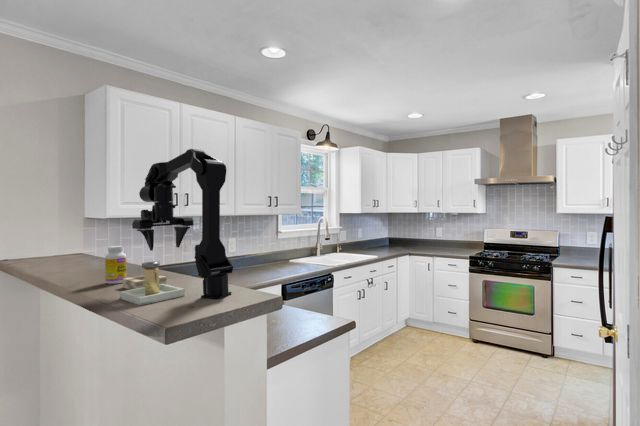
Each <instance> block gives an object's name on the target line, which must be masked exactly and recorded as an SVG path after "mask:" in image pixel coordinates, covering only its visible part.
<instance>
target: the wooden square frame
mask: <svg viewBox="0 0 640 426" xmlns="http://www.w3.org/2000/svg"><path fill="white" fill-rule="evenodd" d="M159 284H166V285H168V281H167V276H164V275H160V274H159ZM143 287H145V285H144V274H143V275H142V274H141V275H135V276H129V277H127V278H123V283H122V288H124V289H127V290H132V289H137V288H143Z"/></svg>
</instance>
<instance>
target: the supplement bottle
mask: <svg viewBox="0 0 640 426" xmlns="http://www.w3.org/2000/svg"><path fill="white" fill-rule="evenodd" d="M123 250H124V247H123V245H112V246H108V247H107V251H108V253H107V254H106V255H105V257H104V262H105V263H104V264H105V265H104V267H105V283H106V284H108V285H109V284H110V285H116V284H123V278H128V271H127V270H128V269H127V255H126V253H125V252H123Z"/></svg>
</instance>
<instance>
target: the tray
mask: <svg viewBox="0 0 640 426" xmlns="http://www.w3.org/2000/svg"><path fill="white" fill-rule="evenodd" d="M159 285H160V293H159V294H154V295H149V296H145V287H143V288H137V289H132V290H130V289H127V290H122V291H119V299H121V300H123V301H126V302H129V303H132V304H134V305H139V306H144V305H150V304H154V303H159V302H161V301H167V300H172V299H176V298H180V297H185V296H186V295H185V294H186V293H185V288H182V287H178V286H173V285H170V284H167V285H166V284H159Z"/></svg>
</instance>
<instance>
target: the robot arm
mask: <svg viewBox="0 0 640 426" xmlns="http://www.w3.org/2000/svg"><path fill="white" fill-rule="evenodd" d="M188 169H191V170H192V171H193V172H194V173H195V177H196V178H195V180H196V182H197V184H198V186H199V188H200V189H201V193H202V195H201V205H202V206H201V209H202V210H201V211H202V212H201V215H202V216H201V218H202V219H201V227H202V228H201V231H202V232H201V240H200V243H199V244H195V246H194V252H195V253H194V263H195V266H196V271H197V274H198V277H200V278H201V279H202V292H203V293H202V294H201V295H200V298H206V299H215V300H216V299H218V300H219V299H222V298H224V297H227V296H229V295H232V291H229V274H233V270H234V265H233V264H232V263H231V261H230V259H229V258H228V256H227V254H226V247H225V245H224V244H223V242H222V241H221V223H220V222H221V219H220V218H221V212H220V211H221V206H220V205H221V189H222V188H223V186H224V184H225V182H226V179H227V166H226V164H225V163H224V162H223V161H222V160H219V159H217V158H216V157H214V156H212V155H209V154H208V153H207V152H205V151H204V150H202V149H197V148H196V149H195V148H189V149H187V150H186V151H185V152H184V153H181V154H179V155H177V156H176V157H174V158H172V159H169V161H162V162H154V163H153V164H152V165H151V166H150V168H149V171H148V172H147V176H146V177H145V178H144V180H145V182H144V186H142V188H141V189H140V190H139V194H138V195H139V198H140V199H141V200H142V201H143V202H144V203H154V204H153V205H152V207H151V210H149V209H142V210H141V211H140V219H134V220H133V221H132V222H131V225H132V227H131V228H132V229H135V230H136V231H137V232H140V234H142V235H143V238H144V239H145V242H146V244H147V245H148V248H149V250H150V251H152V252H153V250H154V243H155V242H154V239H155V238H154V237H155V229H152V228H153V227H163V226H165V227H167V226H174V230H175V247H176V249H177V248H180V245H181V244H182V242H183V240H184V237H185V235H186V233H187V232H188V230H189V229H191V227H192V226H194V224H195V223H194V218H192V217H187V216H186V217H175V216H174V209H175V208H176V204H174V193H173V192H174V189H177V186H176V184H174V181H175V180H176V179H178V177H179V174H180V173H183V172H184V171H186V170H188Z"/></svg>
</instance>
